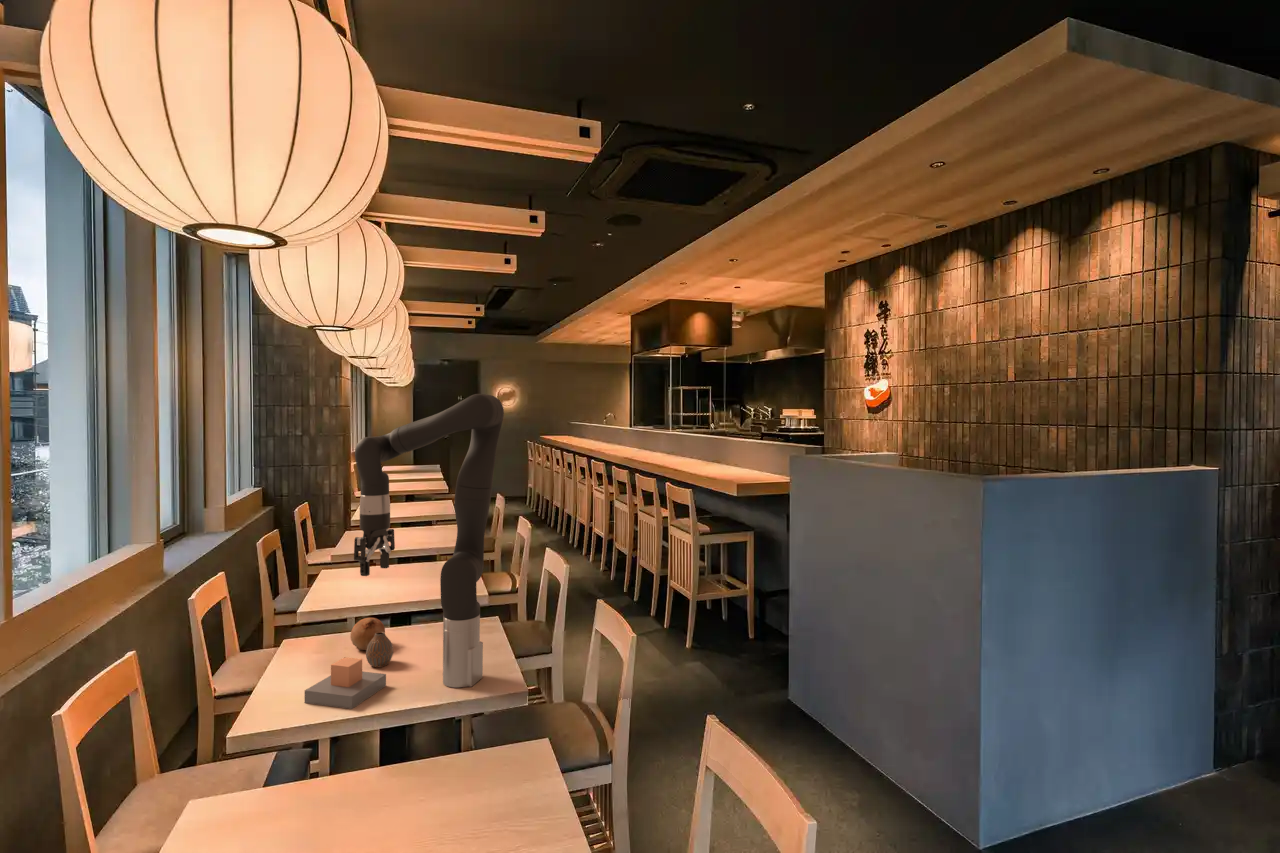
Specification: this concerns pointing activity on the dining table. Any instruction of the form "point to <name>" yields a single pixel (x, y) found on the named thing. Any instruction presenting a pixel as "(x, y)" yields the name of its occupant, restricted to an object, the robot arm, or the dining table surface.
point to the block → (346, 672)
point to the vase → (379, 650)
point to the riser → (345, 691)
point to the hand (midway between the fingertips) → (375, 571)
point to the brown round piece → (365, 632)
